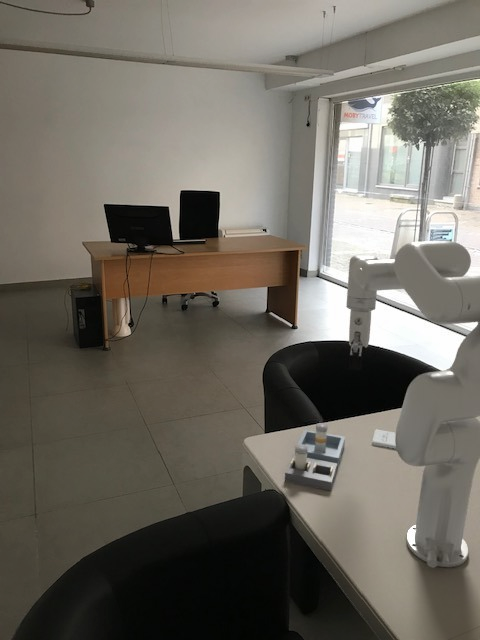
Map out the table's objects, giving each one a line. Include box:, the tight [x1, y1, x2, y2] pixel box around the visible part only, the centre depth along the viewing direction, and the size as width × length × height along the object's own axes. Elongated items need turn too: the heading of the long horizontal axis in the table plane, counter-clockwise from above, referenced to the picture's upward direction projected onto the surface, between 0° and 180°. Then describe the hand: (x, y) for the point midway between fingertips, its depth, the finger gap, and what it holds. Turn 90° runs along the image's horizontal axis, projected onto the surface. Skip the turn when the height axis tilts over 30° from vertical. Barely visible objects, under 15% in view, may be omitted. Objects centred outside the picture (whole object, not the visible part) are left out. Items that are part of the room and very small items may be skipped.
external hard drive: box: [371, 428, 397, 450], centre depth 156 cm, size 2×8×12 cm
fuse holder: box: [284, 454, 338, 492], centre depth 138 cm, size 9×12×4 cm
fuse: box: [294, 443, 308, 471], centre depth 138 cm, size 3×3×8 cm
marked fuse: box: [314, 422, 328, 453], centre depth 149 cm, size 3×3×8 cm
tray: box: [297, 429, 346, 469], centre depth 150 cm, size 12×12×3 cm
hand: (356, 362), depth 144 cm, fingers open, 9 cm apart
